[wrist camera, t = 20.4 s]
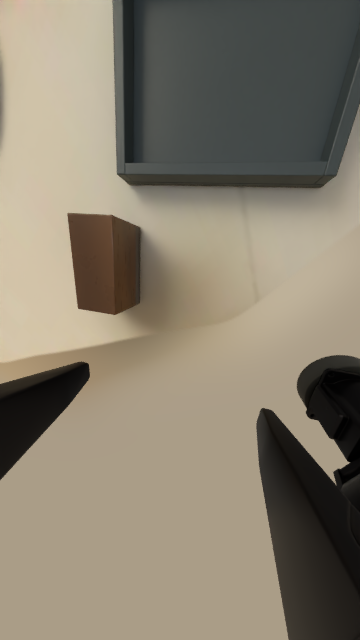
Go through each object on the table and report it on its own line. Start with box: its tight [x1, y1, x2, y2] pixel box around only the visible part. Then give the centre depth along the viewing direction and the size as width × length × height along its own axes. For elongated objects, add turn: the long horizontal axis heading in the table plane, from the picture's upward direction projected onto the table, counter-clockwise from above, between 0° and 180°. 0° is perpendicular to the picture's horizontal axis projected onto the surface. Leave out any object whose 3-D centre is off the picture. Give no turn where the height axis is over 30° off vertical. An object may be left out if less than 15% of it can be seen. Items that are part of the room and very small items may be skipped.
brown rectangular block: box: [68, 213, 140, 315], centre depth 17 cm, size 4×8×5 cm, turn 175°
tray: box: [113, 0, 360, 187], centre depth 12 cm, size 17×13×2 cm
